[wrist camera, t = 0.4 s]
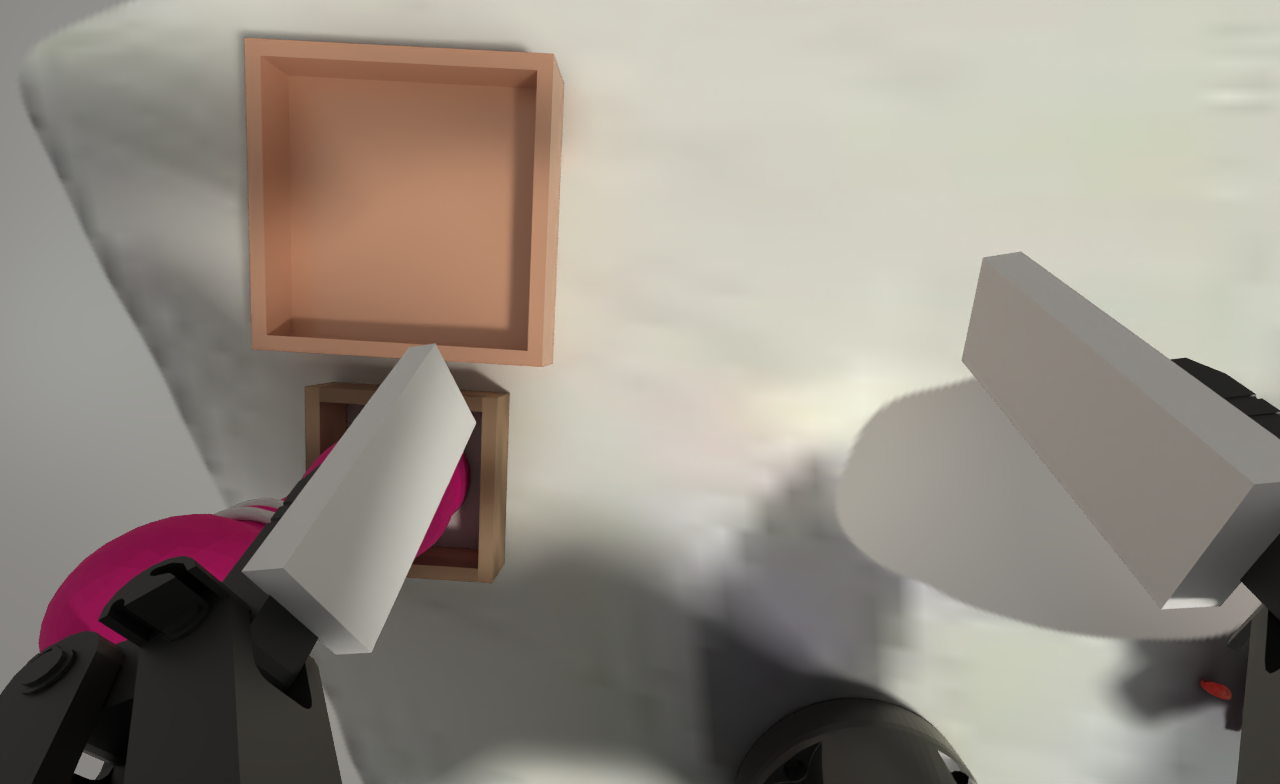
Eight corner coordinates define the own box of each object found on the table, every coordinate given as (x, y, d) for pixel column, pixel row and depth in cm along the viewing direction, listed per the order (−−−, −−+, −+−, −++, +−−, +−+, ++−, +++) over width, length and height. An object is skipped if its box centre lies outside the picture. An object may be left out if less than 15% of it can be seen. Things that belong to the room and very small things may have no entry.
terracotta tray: (552, 363, 30) (542, 366, 27) (291, 347, 31) (251, 349, 28) (564, 83, 29) (553, 53, 26) (286, 68, 29) (244, 37, 26)
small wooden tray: (504, 563, 32) (491, 583, 29) (334, 552, 32) (307, 570, 29) (509, 393, 31) (497, 398, 28) (332, 382, 31) (304, 386, 28)
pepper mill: (502, 465, 31) (240, 698, 11) (433, 554, 32) (69, 921, 12) (406, 391, 31) (-43, 495, 11) (338, 482, 31) (-202, 738, 12)
